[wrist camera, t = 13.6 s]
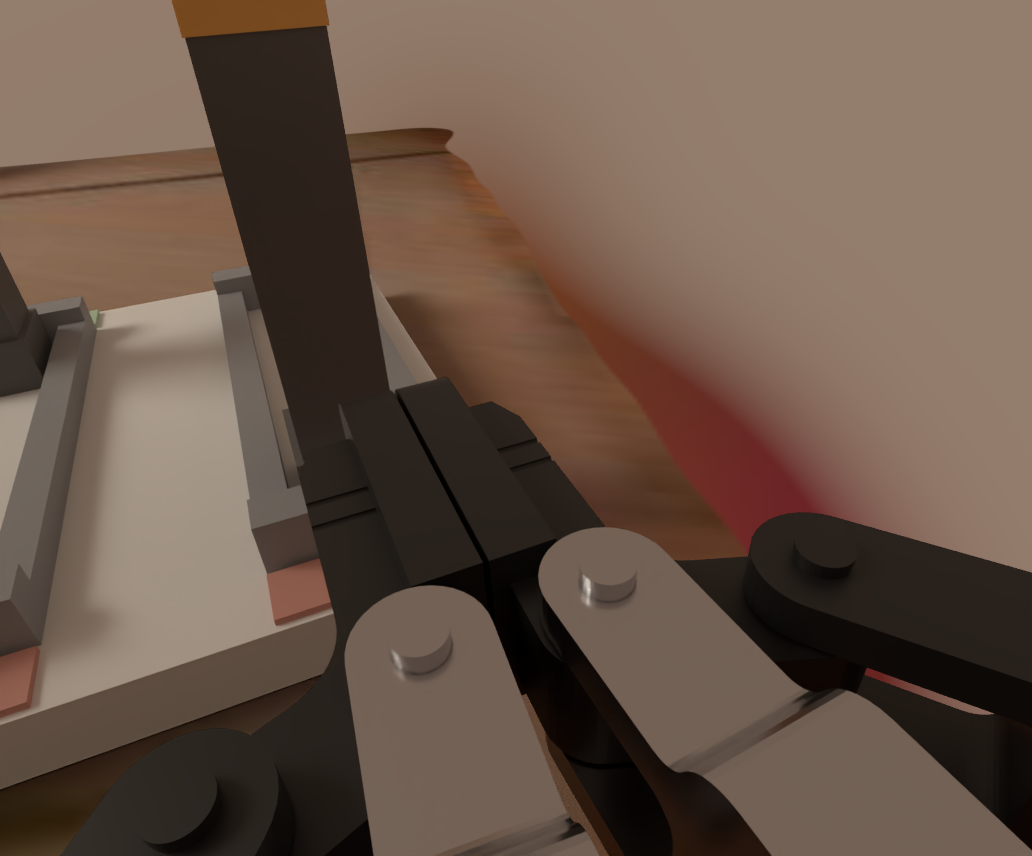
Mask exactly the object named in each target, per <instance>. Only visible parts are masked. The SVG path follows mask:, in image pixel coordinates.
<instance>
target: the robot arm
mask: <svg viewBox="0 0 1032 856" xmlns="http://www.w3.org/2000/svg"><path fill="white" fill-rule="evenodd" d="M339 412H340V416H341V421H342V425H343V429H344V434H345V438H346V440H343V441H339V442H336V443H332V444H328V445H324V446H321V447H317V448H313V449H309V451H308V454H307V457H306V459H305V462H304V465H303V467H302V470H301V472H300V475H299V480H300V484H301V488H302V492H303V496H304V500H305V503H306V507H307V511H308V515H309V519H310V523H311V527H312V530H313V535H314V539H315V543H316V547H317V551H318V554H319V558H320V562H321V566H322V570H323V574H324V578H325V582H326V586H327V590H328V594H329V598H330V602H331V606H332V609H333V613H334V617H335V622H336V629H337V634H336V644H335V648H334V652H333V655H332V657H331V659H330V662H329V664H328V666H327V668H326V669H325V671H324V673H323V674H322V676H321V677H320V678H319V680H318V681H317V682H316V683H315V685H314V686H313V687H312V688H311V689H310V690H309V691H308V692H307V693H306V694H305V695H304V696H303V697H302V698H301V699H300V700H299V701H297V702H296V703H295V704H294V705H292V706H291V707H290V708H289V709H287V710H286V711H284V712H283V713H281V714H280V715H279V716H277V717H276V718H274V719H273V720H271V721H270V722H269V723H267V724H266V725H264V726H263V727H261V728H260V729H258V730H257V731H256V732H254V733H253V734H251V735H248V734H246V733H243V732H240V731H238V730H232V729H225V728H216V729H205V730H199V731H194V732H191V733H188V734H185V735H182V736H179V737H176V738H174V739H172V740H170V741H168V742H166V743H164V744H162V745H160V746H159V747H157V748H155V749H154V750H152V751H150V752H149V753H147V754H146V755H145V756H144V757H142V758H141V759H140V760H138V761H137V762H136V763H134V764H133V765H132V766H131V767H130V768H129V769H128V770H127V771H126V772H125V773H124V774H123V775H122V776H121V777H120V778H119V779H118V780H117V781H116V783H115V784H114V785H113V786H112V787H111V789H110V790H109V791H108V792H107V794H106V795H105V796H104V798H103V799H102V800H101V802H100V803H99V804H98V806H97V807H96V808H95V810H94V811H93V812H92V814H91V815H90V817H89V818H88V819H87V821H86V822H85V823H84V825H83V826H82V827H81V829H80V830H79V831H78V833H77V834H76V835H75V837H74V838H73V839H72V841H71V842H70V843H69V845H68V846H67V847H66V849H65V850H64V851H63V853H62V854H61V855H60V856H599V855H598V852H597V850H596V848H595V846H594V844H593V842H592V841H591V839H590V837H589V835H588V834H587V832H586V831H585V829H584V828H583V827H582V825H580V824H579V823H576V822H573V821H572V819H571V818H570V817H569V815H568V813H567V811H566V809H565V807H564V805H563V803H562V800H561V798H560V795H559V793H558V790H557V788H556V785H555V782H554V780H553V777H552V775H551V772H550V769H549V767H548V764H547V761H546V759H545V756H544V754H543V751H542V748H541V746H540V743H539V741H538V738H537V735H536V733H535V730H534V728H533V725H532V722H531V720H530V717H529V715H528V712H527V709H526V707H525V704H524V702H523V699H522V695H524V694H527V696H528V698H529V700H530V702H531V704H532V706H533V708H534V710H535V712H536V714H537V716H538V718H539V720H540V722H541V724H542V726H543V728H544V730H545V735H546V742H547V746H548V750H549V752H550V754H551V756H552V758H553V760H554V762H555V763H556V765H557V767H558V769H559V770H560V772H561V774H562V775H563V777H564V779H565V781H566V782H567V784H568V786H569V788H570V789H571V791H572V793H573V794H574V796H575V798H576V800H577V801H578V803H579V805H580V806H581V808H582V810H583V812H584V813H585V815H586V817H587V819H588V820H589V822H590V824H591V825H592V827H593V829H594V831H595V832H596V834H597V836H598V837H599V839H600V841H601V843H602V844H603V846H604V848H605V850H606V851H607V853H608V855H609V856H1032V573H1031V572H1027V571H1024V570H1020V569H1017V568H1013V567H1010V566H1006V565H1003V564H999V563H996V562H992V561H989V560H984V559H982V558H978V557H974V556H971V555H967V554H964V553H960V552H957V551H953V550H949V549H946V548H942V547H939V546H935V545H932V544H928V543H925V542H921V541H918V540H914V539H910V538H906V537H903V536H900V535H896V534H893V533H889V532H886V531H882V530H878V529H875V528H872V527H868V526H864V525H861V524H857V523H854V522H850V521H846V520H843V519H840V518H836V517H832V516H828V515H823V514H817V513H801V512H798V513H789V514H784V515H780V516H777V517H774V518H772V519H769V520H768V521H766V522H765V523H763V524H762V525H761V526H760V527H759V528H758V529H757V530H756V531H755V533H754V535H753V537H752V540H751V544H750V549H749V554H748V557H734V558H720V559H705V560H686V561H678V560H673V559H672V558H671V557H670V556H669V555H668V554H667V553H666V552H665V551H664V550H663V549H662V548H661V547H660V546H659V545H657V544H656V543H655V542H653V541H651V540H650V539H648V538H646V537H644V536H642V535H640V534H638V533H635V532H632V531H628V530H624V529H619V528H609V527H605V526H604V524H603V523H602V522H601V520H600V519H599V518H598V517H597V515H596V514H595V513H594V511H593V510H592V509H591V508H590V506H589V505H588V504H587V502H586V501H585V500H584V499H583V497H582V496H581V495H580V493H579V492H578V491H577V490H576V488H575V487H574V486H573V484H572V483H571V482H570V481H569V479H568V478H567V477H566V475H565V474H564V473H563V471H562V470H561V469H560V468H559V466H558V465H557V464H556V462H555V461H552V460H551V457H550V455H549V453H548V452H547V451H546V450H545V448H544V447H543V446H542V444H541V443H540V442H539V443H538V442H537V438H536V437H535V435H534V434H533V433H532V431H531V430H530V429H529V428H528V426H527V425H526V424H525V422H524V421H523V420H522V419H521V417H520V416H518V415H516V414H514V413H513V412H511V411H509V410H507V409H505V408H503V407H501V406H499V405H497V404H495V403H494V402H492V401H491V402H487V403H484V404H480V405H476V406H472V407H469V408H468V406H467V405H466V403H465V402H464V400H463V399H462V397H461V396H460V394H459V393H458V391H457V390H456V388H455V387H454V385H453V384H452V382H451V381H450V380H449V379H448V378H447V377H443V378H439V379H435V380H431V381H427V382H423V383H419V384H415V385H411V386H407V387H403V388H399V389H395V391H394V393H393V391H391V390H390V391H386V392H382V393H378V394H374V395H370V396H366V397H362V398H358V399H354V400H350V401H346V402H342V403H339ZM866 668H870V669H873V670H875V671H878V672H881V673H884V674H886V675H889V676H892V677H895V678H898V679H900V680H903V681H906V682H908V683H912V684H914V685H917V686H920V687H922V688H925V689H928V690H931V691H934V692H936V693H939V694H942V695H944V696H947V697H950V698H953V699H956V700H959V701H961V702H964V703H967V704H969V705H972V706H975V707H978V708H980V709H983V710H986V711H989V712H991V713H994V714H990V715H979V714H972V713H968V712H965V711H961V710H959V709H956V708H953V707H951V706H948V705H945V704H942V703H939V702H937V701H934V700H931V699H929V698H926V697H923V696H920V695H918V694H915V693H912V692H910V691H907V690H904V689H901V688H899V687H896V686H893V685H890V684H888V683H885V682H882V681H879V680H877V679H874V678H871V677H869V676H866V675H864V674H865V671H866Z"/></svg>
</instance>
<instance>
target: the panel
mask: <svg viewBox="0 0 1032 856" xmlns="http://www.w3.org/2000/svg"><path fill="white" fill-rule="evenodd" d="M212 277H213V283H214V286H215V289H216V290H213V291H208V292H203V293H197V294H192V295H187V296H181V297H176V298H171V299H166V300H160V301H155V302H150V303H144V304H139V305H134V306H129V307H123V308H118V309H113V310H107V311H102V312H99V311H98V310H93V311H88V309H87V306H86V304H85V302H84V299H83V297H82V296H78V297H73V298H67V299H62V300H56V301H51V302H45V303H40V304H34V305H29V306H26V304H25V302H24V300H23V298H22V296H21V294H20V292H19V290H18V288H17V286H16V284H15V282H14V280H13V278H12V276H11V274H10V272H9V269H8V267H7V265H6V263H5V261H4V259H3V257H2V255H1V253H0V789H3V788H6V787H8V786H11V785H14V784H17V783H20V782H22V781H25V780H28V779H31V778H34V777H36V776H39V775H42V774H45V773H47V772H50V771H53V770H56V769H59V768H61V767H64V766H67V765H70V764H73V763H75V762H78V761H81V760H84V759H87V758H89V757H92V756H95V755H98V754H100V753H103V752H106V751H109V750H112V749H114V748H117V747H120V746H123V745H126V744H128V743H131V742H134V741H137V740H139V739H142V738H145V737H148V736H151V735H153V734H156V733H159V732H162V731H165V730H167V729H170V728H173V727H176V726H179V725H181V724H184V723H187V722H190V721H192V720H195V719H198V718H201V717H204V716H206V715H209V714H212V713H215V712H218V711H220V710H223V709H226V708H229V707H231V706H234V705H237V704H240V703H243V702H245V701H248V700H251V699H254V698H257V697H259V696H262V695H265V694H268V693H271V692H273V691H276V690H279V689H282V688H284V687H287V686H290V685H293V684H296V683H298V682H301V681H304V680H307V679H310V678H312V677H315V676H318V675H321V674H323V673H324V671H325V669H326V668H327V666H328V664H329V662H330V659H331V657H332V655H333V652H334V648H335V644H336V634H337V629H336V622H335V617H334V613H333V609H332V606H331V602H330V598H329V594H328V590H327V586H326V582H325V578H324V574H323V570H322V566H321V562H320V558H319V554H318V551H317V547H316V543H315V539H314V535H313V530H312V527H311V523H310V519H309V515H308V511H307V507H306V503H305V500H304V496H303V492H302V488H301V484H300V480H299V474H298V470H297V467H296V463H295V459H294V455H293V451H292V447H291V444H290V440H289V436H288V432H287V428H286V424H285V420H284V417H283V413H282V410H284V409H288V405H287V401H286V398H285V394H284V390H283V387H282V383H281V380H280V376H279V373H278V369H277V365H276V362H275V358H274V355H273V351H272V347H271V344H270V340H269V337H268V333H267V330H266V326H265V322H264V319H263V315H262V312H261V308H260V304H259V301H258V297H257V294H256V290H255V286H254V283H253V279H252V276H251V272H250V269H249V266H244V267H238V268H233V269H227V270H222V271H216V272H212ZM370 279H371V284H372V290H373V296H374V302H375V307H376V313H377V319H378V325H379V330H380V336H381V342H382V348H383V353H384V359H385V365H386V370H387V376H388V382H389V388H390V390H391V391H393V393H394V391H395V389H399V388H403V387H407V386H411V385H415V384H419V383H423V382H427V381H431V380H435V379H437V378H436V376H435V375H434V373H433V372H432V370H431V369H430V367H429V366H428V364H427V363H426V361H425V359H424V358H423V356H422V355H421V353H420V352H419V350H418V349H417V347H416V345H415V344H414V342H413V341H412V339H411V338H410V336H409V335H408V333H407V331H406V330H405V328H404V327H403V325H402V324H401V322H400V321H399V319H398V317H397V316H396V314H395V313H394V311H393V310H392V308H391V307H390V305H389V303H388V302H387V300H386V299H385V297H384V296H383V294H382V293H381V291H380V289H379V288H378V286H377V285H376V283H375V282H374V280H373V279H372V277H371V276H370Z"/></svg>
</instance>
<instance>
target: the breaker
mask: <svg viewBox="0 0 1032 856" xmlns="http://www.w3.org/2000/svg"><path fill="white" fill-rule="evenodd" d="M172 3H173V7H174V10H175V14H176V18H177V21H178V25H179V28H180V32H181V35H182V38H185V39H186V43H187V46H188V49H189V53H190V57H191V60H192V64H193V67H194V71H195V75H196V78H197V82H198V86H199V89H200V93H201V96H202V100H203V104H204V107H205V111H206V114H207V118H208V122H209V125H210V128H211V132H212V136H213V139H214V143H215V147H216V150H217V154H218V157H219V161H220V165H221V168H222V172H223V175H224V179H225V183H226V186H227V190H228V193H229V197H230V200H231V204H232V208H233V211H234V215H235V218H236V222H237V226H238V229H239V233H240V236H241V240H242V243H243V247H244V251H245V254H246V258H247V261H248V265H249V269H250V272H251V276H252V279H253V283H254V286H255V290H256V294H257V297H258V301H259V304H260V308H261V312H262V315H263V319H264V322H265V326H266V330H267V333H268V337H269V340H270V344H271V347H272V351H273V355H274V358H275V362H276V365H277V369H278V373H279V376H280V380H281V383H282V387H283V390H284V394H285V398H286V401H287V405H288V409H284V410H282V413H283V417H284V420H285V424H286V428H287V432H288V436H289V440H290V444H291V447H292V451H293V455H294V459H295V463H296V467H297V470H298V474H299V475H300V472H301V470H302V467H303V465H304V462H305V459H306V457H307V454H308V451H309V449H313V448H317V447H321V446H324V445H328V444H332V443H336V442H339V441H343V440H346V438H345V434H344V429H343V425H342V421H341V416H340V412H339V403H342V402H346V401H350V400H354V399H358V398H362V397H366V396H370V395H374V394H378V393H382V392H386V391H390V388H389V382H388V376H387V370H386V365H385V359H384V353H383V348H382V342H381V336H380V330H379V325H378V319H377V313H376V307H375V302H374V296H373V290H372V284H371V279H370V273H369V267H368V261H367V256H366V250H365V244H364V238H363V233H362V227H361V221H360V215H359V210H358V204H357V198H356V193H355V187H354V181H353V175H352V170H351V164H350V158H349V152H348V147H347V141H346V135H345V129H344V124H343V118H342V112H341V107H340V101H339V95H338V89H337V84H336V78H335V72H334V66H333V60H332V55H331V49H330V43H329V38H328V32H327V26H326V25H329V20H328V15H327V9H326V3H325V0H172Z"/></svg>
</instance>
